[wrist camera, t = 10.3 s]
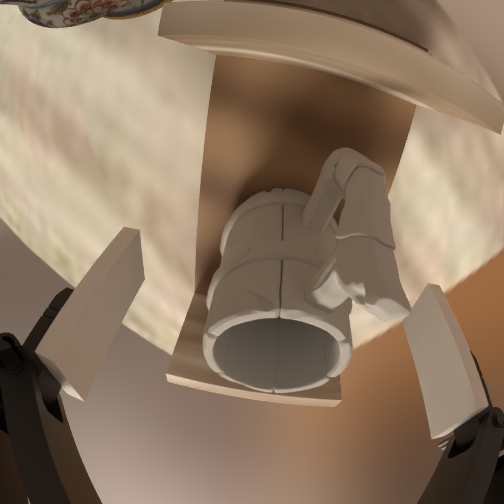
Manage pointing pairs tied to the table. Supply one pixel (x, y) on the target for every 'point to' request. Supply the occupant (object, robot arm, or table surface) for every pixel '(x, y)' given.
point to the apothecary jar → (82, 10)
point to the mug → (302, 278)
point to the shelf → (297, 127)
